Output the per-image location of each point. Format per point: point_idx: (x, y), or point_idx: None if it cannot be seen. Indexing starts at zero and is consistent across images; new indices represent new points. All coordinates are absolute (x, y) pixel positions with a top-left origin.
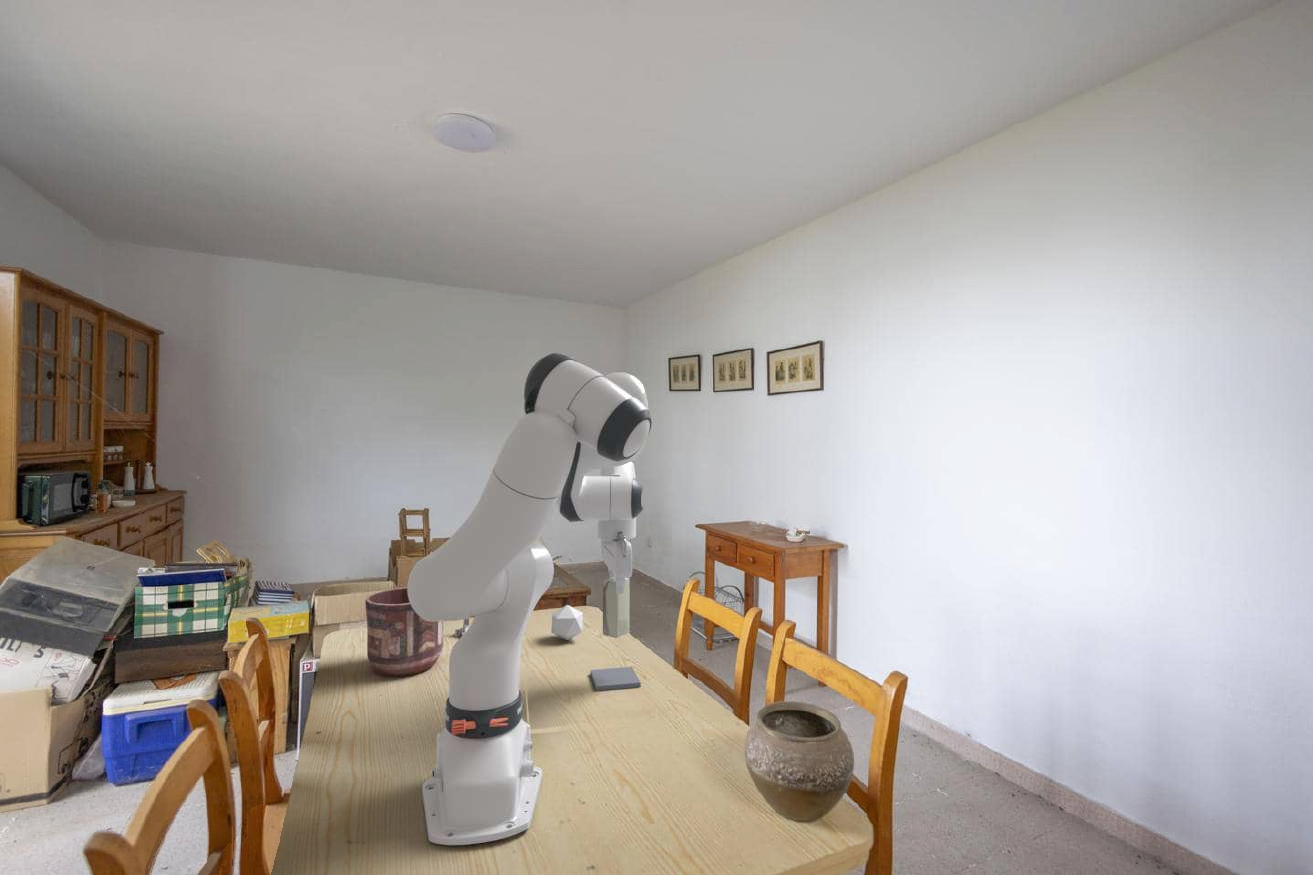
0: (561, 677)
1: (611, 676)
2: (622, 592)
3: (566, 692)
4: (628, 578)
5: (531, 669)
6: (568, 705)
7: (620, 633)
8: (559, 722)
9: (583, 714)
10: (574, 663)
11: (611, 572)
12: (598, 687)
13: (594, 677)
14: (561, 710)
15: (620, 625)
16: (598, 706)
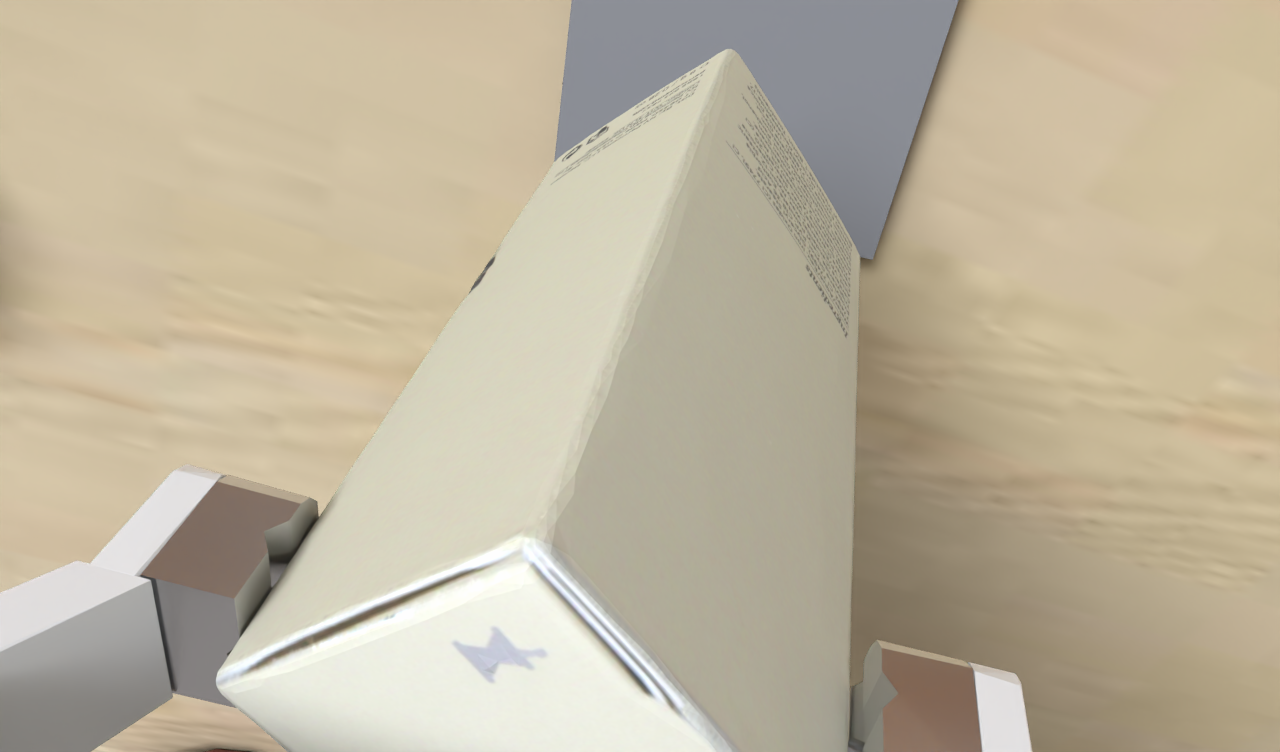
0: None
1: None
2: (1015, 698)
3: None
4: (535, 573)
5: None
6: (990, 454)
7: (835, 228)
8: (1173, 556)
9: (1167, 431)
10: (322, 201)
11: (29, 747)
12: (876, 242)
13: None
14: (1032, 503)
15: (832, 276)
16: (1120, 322)
